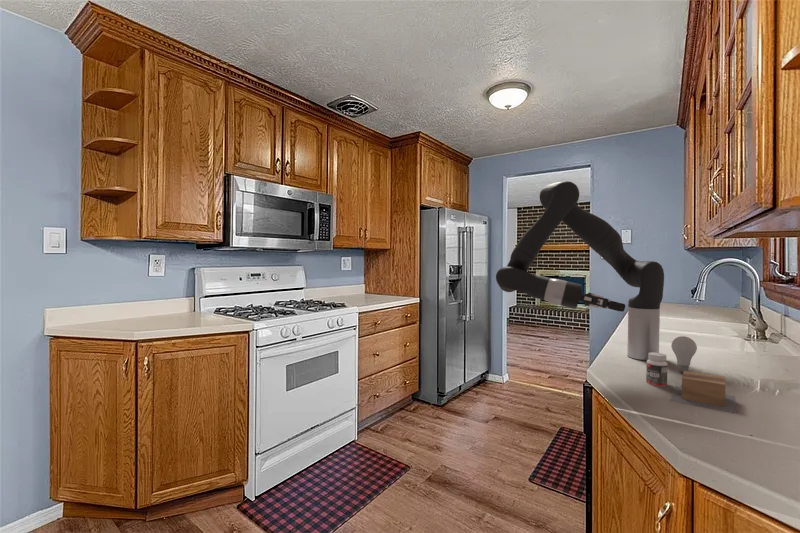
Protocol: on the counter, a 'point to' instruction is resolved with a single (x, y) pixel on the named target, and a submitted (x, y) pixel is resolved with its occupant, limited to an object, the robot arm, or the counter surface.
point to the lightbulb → (683, 352)
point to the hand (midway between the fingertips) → (623, 308)
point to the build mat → (729, 403)
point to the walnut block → (703, 388)
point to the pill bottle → (656, 369)
